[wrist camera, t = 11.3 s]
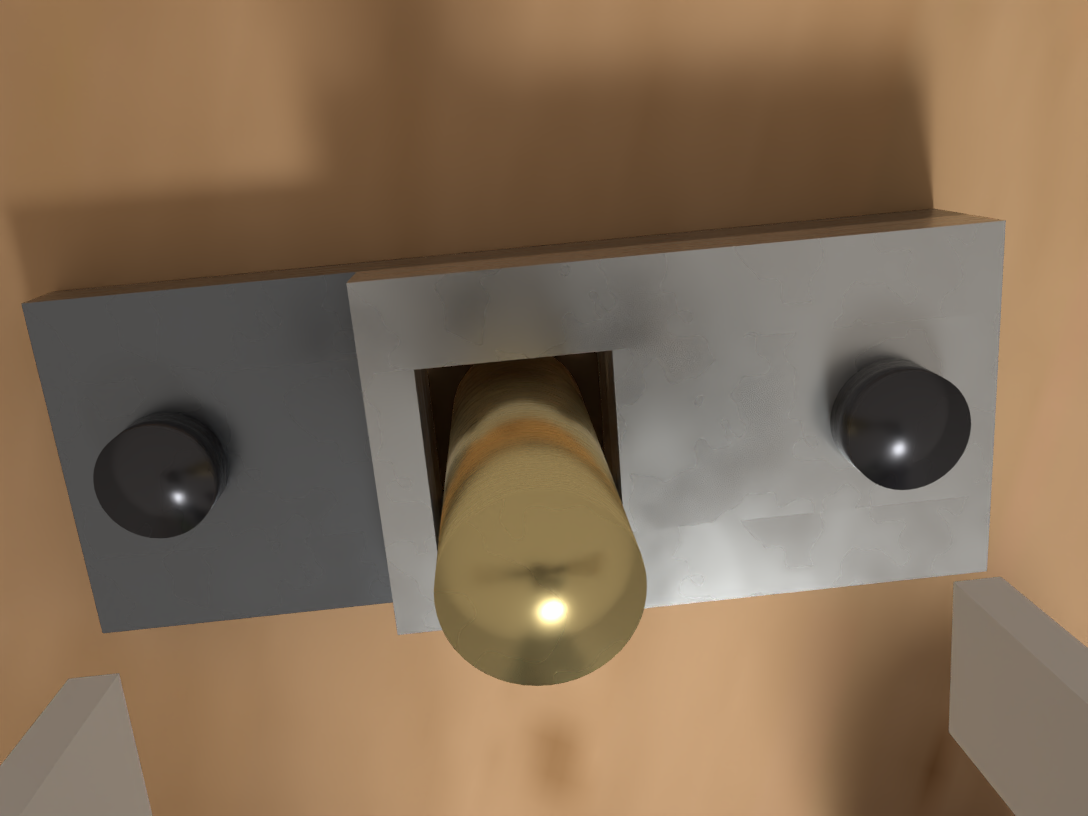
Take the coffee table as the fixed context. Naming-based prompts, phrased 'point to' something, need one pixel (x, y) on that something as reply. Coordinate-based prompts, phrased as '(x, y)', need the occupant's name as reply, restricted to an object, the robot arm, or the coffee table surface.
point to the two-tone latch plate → (520, 333)
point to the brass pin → (533, 531)
